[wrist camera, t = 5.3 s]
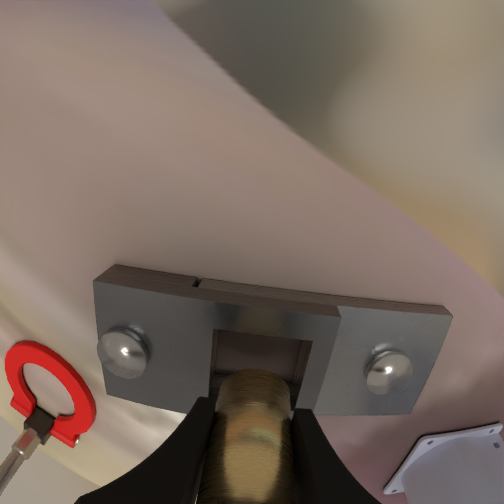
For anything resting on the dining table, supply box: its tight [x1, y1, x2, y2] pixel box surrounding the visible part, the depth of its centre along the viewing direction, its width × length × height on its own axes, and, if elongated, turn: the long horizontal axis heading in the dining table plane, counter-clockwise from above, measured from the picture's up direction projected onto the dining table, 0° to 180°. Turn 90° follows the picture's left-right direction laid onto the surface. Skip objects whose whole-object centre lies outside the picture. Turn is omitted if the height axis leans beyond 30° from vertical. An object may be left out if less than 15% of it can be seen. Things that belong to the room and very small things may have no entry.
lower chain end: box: [198, 278, 453, 415], centre depth 16 cm, size 13×7×2 cm, turn 83°
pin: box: [196, 369, 295, 504], centre depth 10 cm, size 3×3×6 cm
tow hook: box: [0, 341, 96, 495], centre depth 13 cm, size 8×13×9 cm
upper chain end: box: [93, 264, 342, 420], centre depth 15 cm, size 11×7×3 cm, turn 83°
